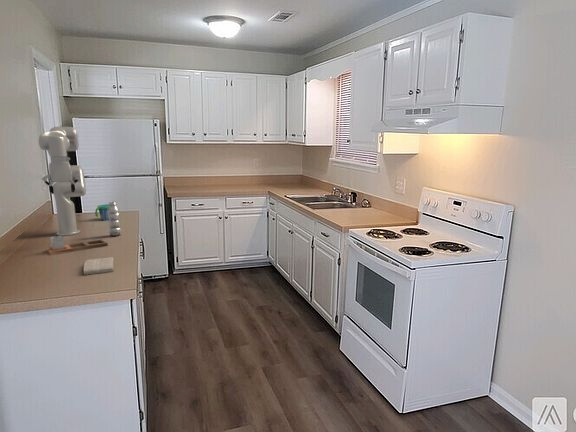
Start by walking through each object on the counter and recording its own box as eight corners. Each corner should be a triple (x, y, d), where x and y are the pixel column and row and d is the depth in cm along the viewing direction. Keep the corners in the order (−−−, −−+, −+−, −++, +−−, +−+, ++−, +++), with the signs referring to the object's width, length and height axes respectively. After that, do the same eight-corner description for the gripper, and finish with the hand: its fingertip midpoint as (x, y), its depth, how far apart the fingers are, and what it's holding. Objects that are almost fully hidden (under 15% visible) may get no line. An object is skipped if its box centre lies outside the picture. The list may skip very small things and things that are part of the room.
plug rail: (46, 250, 207) (45, 247, 207) (101, 241, 224) (101, 239, 224) (50, 255, 199) (49, 252, 199) (107, 245, 216) (107, 243, 216)
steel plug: (51, 250, 206) (50, 236, 205) (62, 248, 210) (61, 235, 208) (53, 252, 203) (52, 238, 201) (64, 250, 206) (63, 237, 204)
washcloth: (114, 261, 189) (113, 255, 189) (114, 272, 173) (113, 265, 173) (85, 264, 185) (85, 258, 184) (83, 276, 169) (82, 269, 168)
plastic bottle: (117, 237, 235) (114, 203, 231) (107, 236, 236) (103, 202, 233) (124, 234, 241) (121, 201, 238) (113, 234, 243) (110, 201, 239)
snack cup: (99, 222, 279) (98, 207, 277) (92, 220, 285) (91, 206, 284) (121, 218, 291) (119, 204, 289) (113, 217, 297) (112, 203, 295)
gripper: (75, 159, 219) (79, 190, 222) (38, 160, 208) (42, 193, 211) (79, 159, 213) (82, 192, 216) (41, 161, 202) (45, 195, 205)
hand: (62, 192), depth 214 cm, fingers open, 9 cm apart
